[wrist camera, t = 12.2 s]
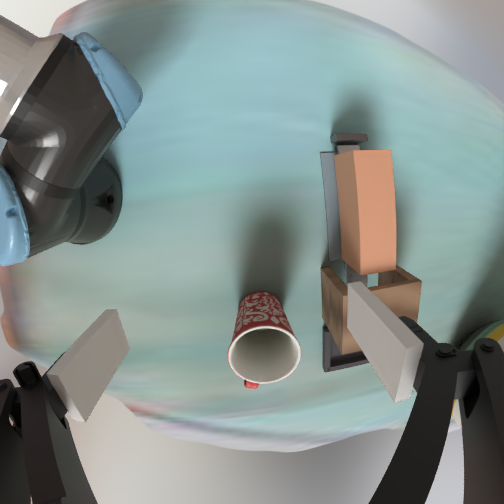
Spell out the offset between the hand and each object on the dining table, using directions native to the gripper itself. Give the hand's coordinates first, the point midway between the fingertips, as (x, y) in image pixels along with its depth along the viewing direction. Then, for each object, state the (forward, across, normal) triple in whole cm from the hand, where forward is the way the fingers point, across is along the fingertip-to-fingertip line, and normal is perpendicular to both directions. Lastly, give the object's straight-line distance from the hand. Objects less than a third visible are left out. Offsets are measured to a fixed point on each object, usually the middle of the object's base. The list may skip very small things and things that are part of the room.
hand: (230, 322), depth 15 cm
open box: (+29, +18, -12) cm, 36 cm away
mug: (+29, +1, -15) cm, 33 cm away
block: (+27, +18, +2) cm, 33 cm away
